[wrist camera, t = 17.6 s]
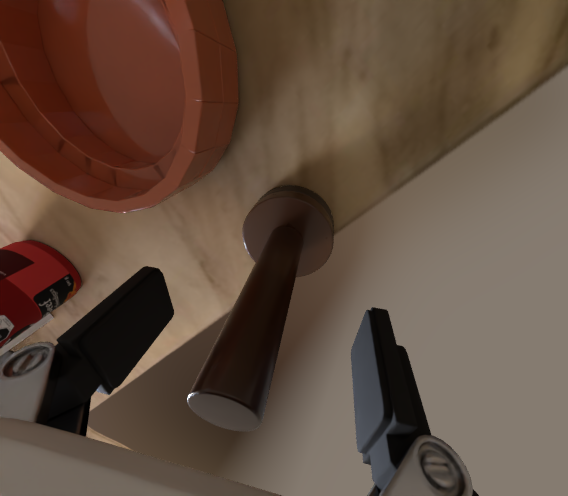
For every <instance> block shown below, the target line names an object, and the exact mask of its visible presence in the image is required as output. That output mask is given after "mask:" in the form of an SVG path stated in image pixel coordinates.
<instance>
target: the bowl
mask: <svg viewBox="0 0 568 496" xmlns="http://www.w3.org/2000/svg"><path fill="white" fill-rule="evenodd" d="M238 103H239V95H238V69H237V53H236V48H235V44H234V41H233V37H232V33H231V30H230V26H229V22H228V19H227V15H226V11H225V8H224V4H223V0H0V151H1V152H2V153H3V154H4V155H5V156H6V157H7V158H8V159H9V160H10V161H12V162H13V163H14V164H15V165H16V166H17V167H18V168H19V169H21V170H22V171H24V172H25V173H27V174H28V175H30V176H31V177H33V178H34V179H35V180H37V181H38V182H40V183H41V184H43V185H44V186H46V187H47V188H49V189H50V190H51V191H53V192H54V193H57V194H59V195H61V196H64V197H66V198H68V199H70V200H73V201H75V202H77V203H80V204H82V205H84V206H86V207H89V208H92V209H98V210H105V211H112V212H118V213H127V212H132V211H137V210H142V209H146V208H151V207H154V206H156V205H158V204H159V203H161V202H163V201H165V200H167V199H169V198H170V197H172V196H174V195H176V194H178V193H180V192H181V191H183V190H185V189H187V188H189V187H190V186H192V185H194V184H195V183H196V182H198V181H199V180H200V179H202V178H203V177H205V176H206V175H207V174H209V173H210V172H211V171H212V170H213V169H214V168H215V166H216V165H217V163H218V161H219V160H220V158H221V156H222V155H223V153H224V151H225V150H226V148H227V146H228V145H229V143H230V140H231V136H232V131H233V127H234V123H235V118H236V114H237V109H238V105H239V104H238Z"/></svg>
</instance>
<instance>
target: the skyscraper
mask: <svg viewBox="0 0 568 496" xmlns="http://www.w3.org/2000/svg"><path fill="white" fill-rule="evenodd" d="M52 319H54V317H53V316H52V315H51V314H50V313H49V314H48V315H46V316H45V317H44V318H42V319H41V320H40V321H38V322H37V323H35V324H34V325H33V326H31V327H30V328H29V329H27V330H26V331H24V332H23V333H22V334H20V335H19V336H18V337H16V338H15V339H13V340H12V341H11V342H9V343H8V344H7V345H5V346H4V347H2V348H1V349H0V356H1V355H2V354H4V353H5V352H7V351H8V350H10V349H11V348H13V347H14V346H15V345H17V344H18V343H20V342H21V341H23V340H24V339H25V338H27V337H28V336H30V335H31V334H32V333H34V332H35V331H37V330H38V329H40V328H41V327H42V326H44V325H45V324H47V323H48V322H49V321H51V320H52Z"/></svg>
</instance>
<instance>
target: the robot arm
mask: <svg viewBox="0 0 568 496" xmlns="http://www.w3.org/2000/svg"><path fill="white" fill-rule="evenodd" d="M173 315H174V309H173V306H172V303H171V299H170V296H169V292H168V289H167V286H166V282H165V279H164V276H163V273H162V272H161V271H160V269H158V268H153V267H148V266H145V267H143V268H142V269H140V270H139V271H138V272H137V273H136V274H134V275H133V276H132V277H131V278H130V279H128V280H127V281H126V282H125V283H124V284H122V285H121V286H120V287H119V288H118V289H116V290H115V291H114V292H113V293H112V294H110V295H109V296H108V297H107V298H106V299H104V300H103V301H102V302H101V303H100V304H98V305H97V306H96V307H95V308H94V309H93V310H91V311H90V312H89V313H88V314H87V315H85V316H84V317H83V318H82V319H81V320H79V321H78V322H77V323H76V324H75V325H73V326H72V327H71V328H70V329H69V330H67V331H66V332H65V333H64V334H63V335H61V336H60V337H59V338H58V339H57V341H58V344H57V345H56V346H54V345H53V344H52V343H50V342H38V343H34V344H31V345H28V346H26V347H24V348H22V349H20V350H18V351H16V352H15V353H13V354H12V355H10V356H9V357H8V358H7V359H6V360H5V361H4V362H2V363H1V365H0V496H281V495H278V494H275V493H271V492H268V491H265V490H262V489H258V488H255V487H251V486H248V485H245V484H242V483H239V482H235V481H232V480H229V479H225V478H222V477H219V476H215V475H212V474H209V473H206V472H202V471H199V470H196V469H192V468H189V467H186V466H182V465H179V464H175V463H172V462H169V461H165V460H162V459H158V458H156V457H152V456H149V455H145V454H142V453H139V452H135V451H132V450H129V449H125V448H122V447H118V446H115V445H112V444H108V443H105V442H101V441H98V440H95V439H91V438H88V437H86V432H87V424H88V417H89V409H90V402H91V396H92V395H93V394H94V392H95V391H96V390H97V391H98V392H100V393H104V394H108V395H110V394H111V392H112V391H113V390H114V389H115V388H117V387H118V386H120V385H121V384H122V382H123V381H124V380H125V378H126V377H127V376H128V375H129V373H130V372H131V371H132V369H133V368H134V367H135V365H136V364H137V363H138V362H139V360H140V359H141V358H142V356H143V355H144V354H145V352H146V351H147V350H148V349H149V347H150V346H151V345H152V343H153V342H154V341H155V340H156V338H157V337H158V336H159V334H160V333H161V332H162V330H163V329H164V328H165V327H166V325H167V324H168V323H169V321H170V320H171V319H172V317H173ZM351 361H352V378H353V392H354V408H355V424H356V439H357V449H358V452H360V453H363V463H365V464H369V465H371V468H372V469H371V470H372V479H373V481H374V482H375V484H374V486H373V487H372V489H371V490H370V492H369V493H368V495H367V496H479V495H478V494H477V493H476V492H475V491H474V490H473V488H472V483H471V478H470V475H469V473H468V471H467V468H466V466H465V465H464V463H463V461H462V460H461V459H460V457H459V455H458V454H457V453H456V452H455V451H454V450H453V449H452V448H451V447H450V446H449V445H448V444H446V443H445V442H444V441H443V440H441V439H439V438H437V437H435V436H432V435H431V433H430V429H429V426H428V422H427V419H426V415H425V412H424V409H423V406H422V402H421V398H420V395H419V392H418V388H417V385H416V381H415V378H414V375H413V372H412V368H411V364H410V361H409V358H408V355H407V352H406V349H405V348H404V347H403V346H399V345H397V344H396V340H395V337H394V333H393V329H392V325H391V321H390V318H389V314H388V311H387V310H384V309H378V308H373V307H372V308H371V310H366V312H365V315H364V317H363V320H362V323H361V325H360V328H359V330H358V333H357V336H356V338H355V341H354V344H353V346H352V350H351Z"/></svg>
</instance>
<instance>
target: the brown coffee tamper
mask: <svg viewBox="0 0 568 496" xmlns="http://www.w3.org/2000/svg"><path fill="white" fill-rule="evenodd" d="M333 233H334V224H333V217H332V214H331V211H330V209H329V207H328V205H327V204H326V203H325V201H324V200H323V199H322V198H321V197H320V196H318V195H317V194H316V193H314V192H313V191H311V190H309V189H306V188H303V187H300V186H291V185H288V186H281V187H277V188H274V189H272V190H270V191H268V192H267V193H266V194H264V195H263V196H262V197H261V198H260V200H259V201H258V202H257V203H256V204H255V206H254V207H253V208H252V209H251V211H250V212H249V213H248V215H247V217H246V219H245V221H244V224H243V241H244V245H245V247H246V250H247V252H248V253H249V255H250V256H251V258H252V259H253V260H254V261H255V262H256V263H255V265H254V267H253V269H252V271H251V273H250V275H249V277H248V279H247V281H246V283H245V285H244V287H243V289H242V291H241V293H240V295H239V297H238V299H237V301H236V303H235V305H234V307H233V309H232V311H231V313H230V314H229V317H228V318H227V320H226V322H225V324H224V326H223V328H222V330H221V332H220V334H219V336H218V338H217V340H216V342H215V344H214V346H213V348H212V350H211V352H210V354H209V356H208V358H207V360H206V362H205V363H204V365H203V367H202V369H201V371H200V373H199V375H198V377H197V379H196V381H195V383H194V385H193V387H192V389H191V391H190V393H189V395H188V405H189V407H190V408H191V409H192V410H193V411H194V412H195V413H196V414H197V415H198V416H200V417H201V418H203V419H205V420H206V421H208V422H210V423H212V424H214V425H217V426H220V427H222V428H226V429H230V430H235V431H252V430H255V429H257V428H258V427H259V426H260V425H261V423H262V419H263V416H264V411H265V407H266V403H267V399H268V394H269V390H270V385H271V381H272V377H273V372H274V368H275V364H276V360H277V355H278V351H279V347H280V343H281V338H282V334H283V330H284V325H285V321H286V316H287V312H288V308H289V304H290V300H291V295H292V290H293V287H294V282H295V278H296V277H301V276H305V275H308V274H311V273H313V272H315V271H316V270H318V269H319V268H320V267H322V266H323V265H324V264H325V263H326V261H327V260H328V258H329V256H330V254H331V252H332V248H333Z"/></svg>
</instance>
